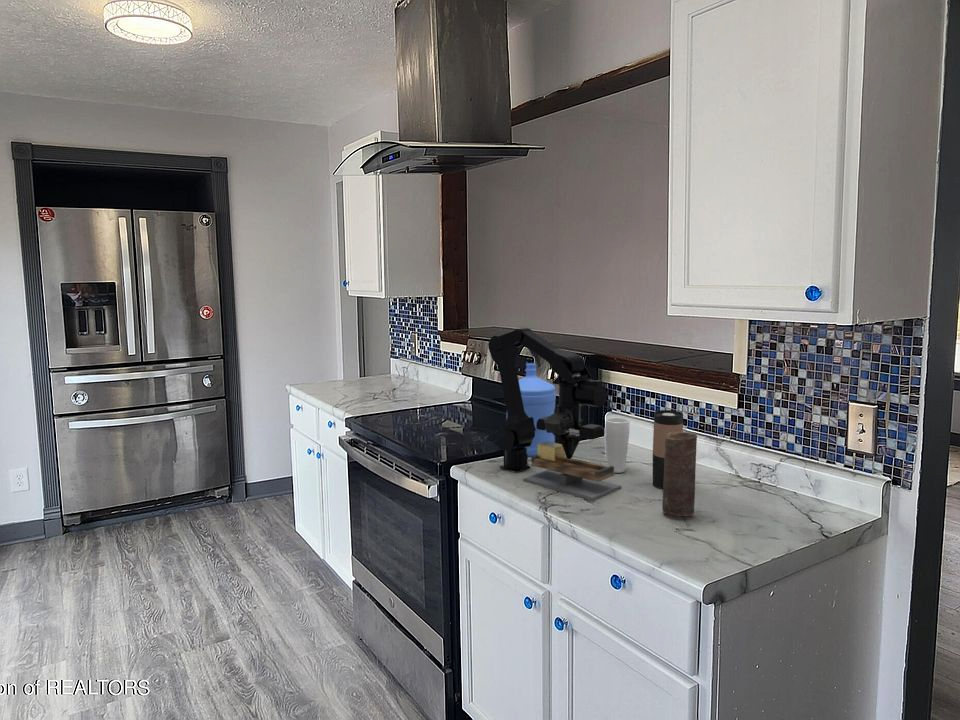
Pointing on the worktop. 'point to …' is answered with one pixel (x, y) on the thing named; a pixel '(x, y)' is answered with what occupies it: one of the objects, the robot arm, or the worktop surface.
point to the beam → (576, 468)
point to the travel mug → (663, 440)
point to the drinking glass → (617, 443)
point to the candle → (679, 474)
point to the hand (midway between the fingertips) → (569, 458)
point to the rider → (551, 452)
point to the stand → (572, 484)
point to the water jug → (537, 404)
